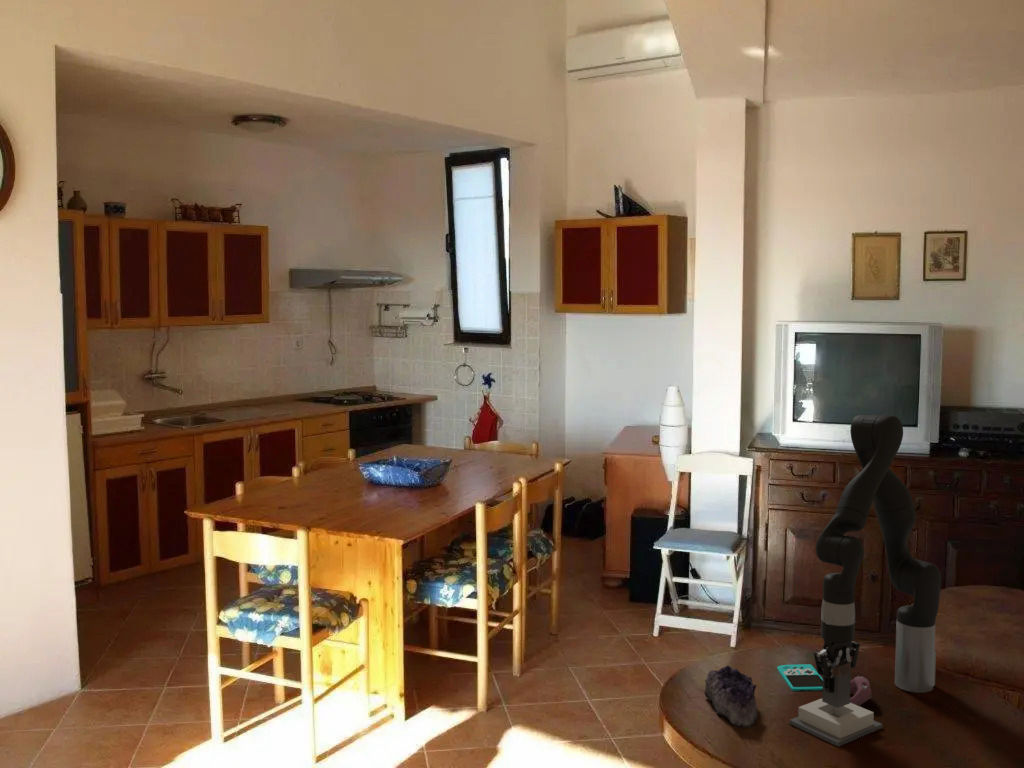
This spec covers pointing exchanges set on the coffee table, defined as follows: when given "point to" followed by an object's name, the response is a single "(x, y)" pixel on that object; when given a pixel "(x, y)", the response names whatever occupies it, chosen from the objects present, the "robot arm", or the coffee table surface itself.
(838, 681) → the plug
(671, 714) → the coffee table surface
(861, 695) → the video game controller
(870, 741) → the coffee table surface
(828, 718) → the socket
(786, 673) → the handheld game console
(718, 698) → the geode
